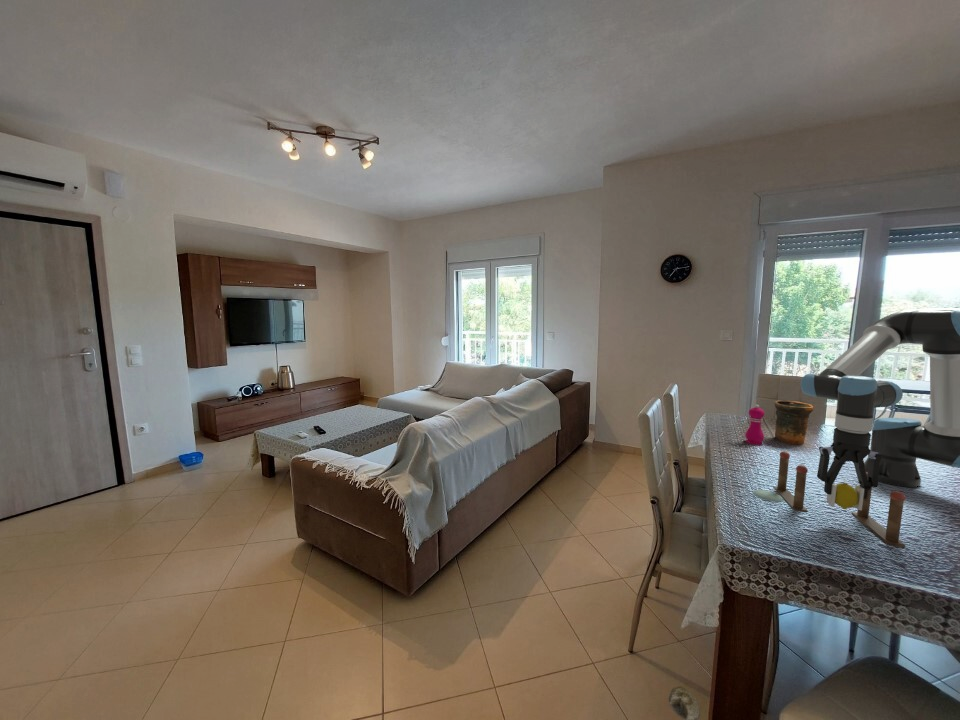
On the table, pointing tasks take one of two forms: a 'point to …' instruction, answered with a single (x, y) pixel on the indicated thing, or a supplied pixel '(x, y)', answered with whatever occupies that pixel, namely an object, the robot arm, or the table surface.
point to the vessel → (792, 421)
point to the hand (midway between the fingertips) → (843, 505)
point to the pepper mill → (755, 426)
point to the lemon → (846, 496)
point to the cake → (684, 703)
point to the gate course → (885, 535)
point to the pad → (768, 495)
